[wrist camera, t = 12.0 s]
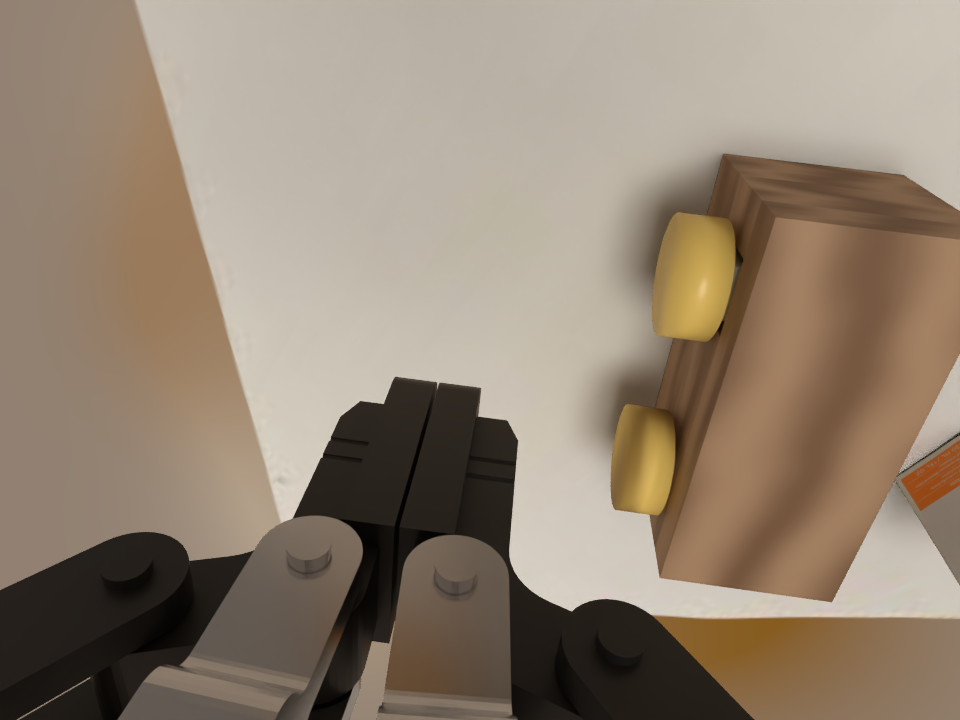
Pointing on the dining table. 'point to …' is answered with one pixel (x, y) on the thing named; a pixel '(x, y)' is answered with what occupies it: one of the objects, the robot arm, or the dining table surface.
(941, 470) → the skincare box
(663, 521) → the block
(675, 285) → the knob
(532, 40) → the dining table surface
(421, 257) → the dining table surface
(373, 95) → the dining table surface
